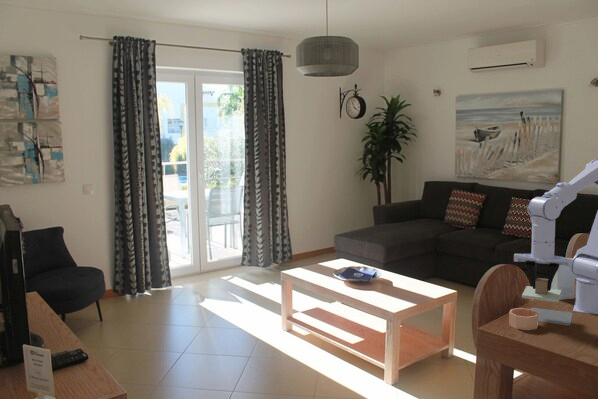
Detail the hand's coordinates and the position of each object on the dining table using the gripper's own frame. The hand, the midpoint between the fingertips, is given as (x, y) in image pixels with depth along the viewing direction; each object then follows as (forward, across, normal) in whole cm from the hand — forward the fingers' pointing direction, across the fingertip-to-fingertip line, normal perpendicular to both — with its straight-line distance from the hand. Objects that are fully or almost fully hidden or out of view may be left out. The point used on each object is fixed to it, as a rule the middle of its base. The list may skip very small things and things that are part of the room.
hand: (541, 288), depth 145 cm
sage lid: (+2, 0, 0) cm, 2 cm away
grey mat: (+9, +2, +3) cm, 10 cm away
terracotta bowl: (+9, -4, -7) cm, 12 cm away
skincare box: (+9, +3, +22) cm, 24 cm away
